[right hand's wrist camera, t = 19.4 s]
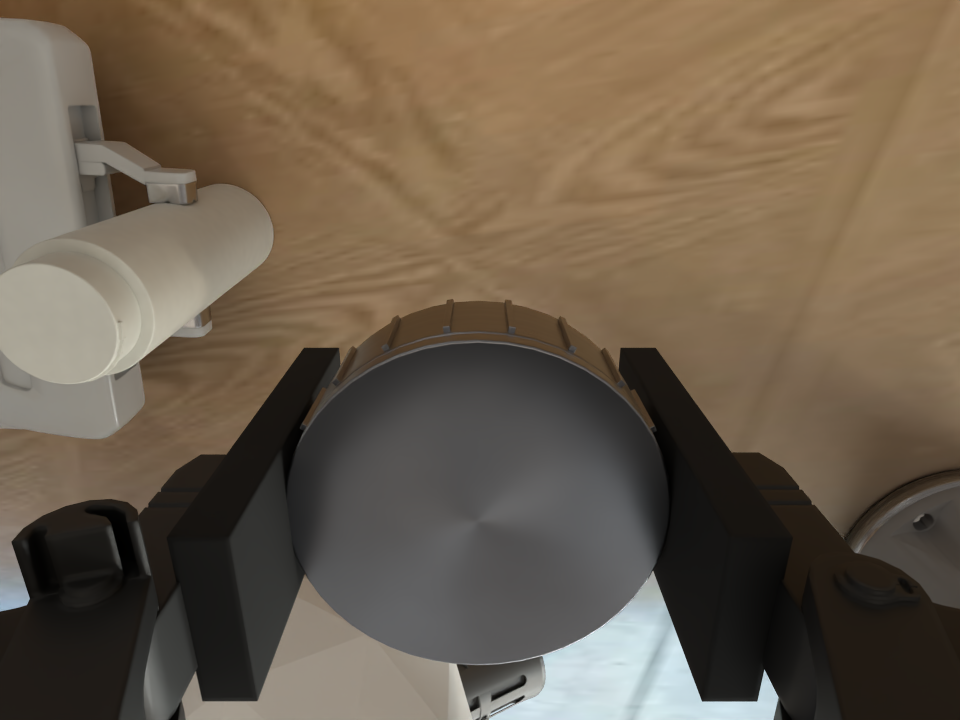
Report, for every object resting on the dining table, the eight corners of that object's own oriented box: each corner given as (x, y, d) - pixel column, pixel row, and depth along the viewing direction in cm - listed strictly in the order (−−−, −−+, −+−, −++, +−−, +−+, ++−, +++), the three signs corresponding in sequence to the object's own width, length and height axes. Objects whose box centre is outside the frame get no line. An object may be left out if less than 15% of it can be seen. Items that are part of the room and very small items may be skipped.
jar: (185, 268, 39) (-15, 388, 23) (179, 178, 37) (-45, 241, 21) (274, 278, 39) (138, 402, 23) (273, 188, 37) (122, 258, 21)
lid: (661, 298, 11) (699, 338, 9) (627, 589, 13) (652, 668, 11) (296, 295, 11) (258, 335, 9) (326, 587, 13) (300, 667, 11)
